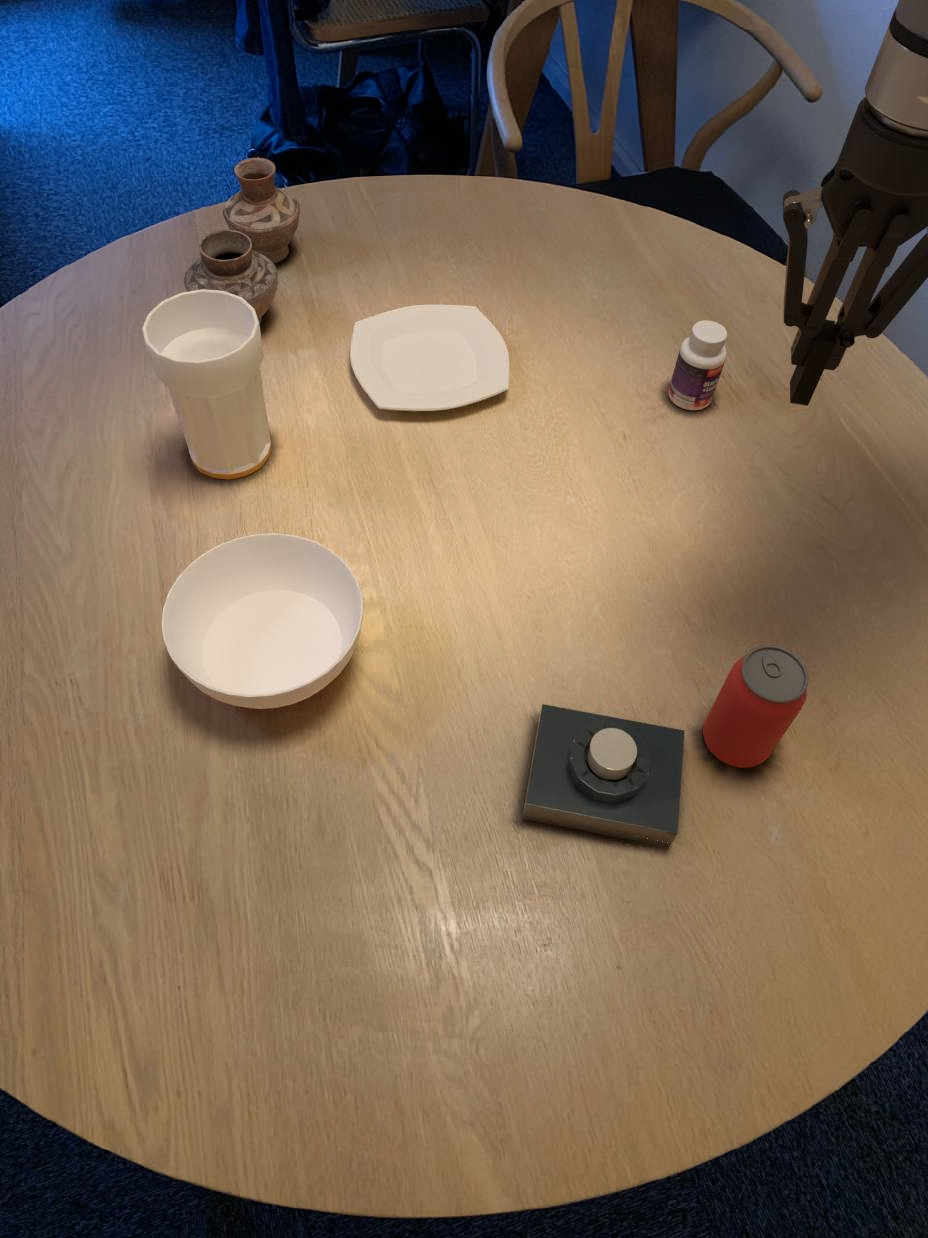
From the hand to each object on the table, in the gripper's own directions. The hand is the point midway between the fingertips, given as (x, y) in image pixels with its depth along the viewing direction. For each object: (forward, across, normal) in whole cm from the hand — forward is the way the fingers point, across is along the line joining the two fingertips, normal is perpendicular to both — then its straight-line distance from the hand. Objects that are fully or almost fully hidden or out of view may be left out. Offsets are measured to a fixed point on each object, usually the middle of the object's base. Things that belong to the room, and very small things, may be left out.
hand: (798, 393), depth 79 cm
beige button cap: (+20, -10, -27) cm, 35 cm away
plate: (+25, -37, +24) cm, 51 cm away
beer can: (+25, +2, -20) cm, 32 cm away
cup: (+25, -56, +5) cm, 61 cm away
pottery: (+25, -63, +34) cm, 76 cm away
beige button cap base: (+24, -10, -27) cm, 38 cm away
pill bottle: (+25, -5, +26) cm, 36 cm away
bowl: (+25, -43, -20) cm, 53 cm away
